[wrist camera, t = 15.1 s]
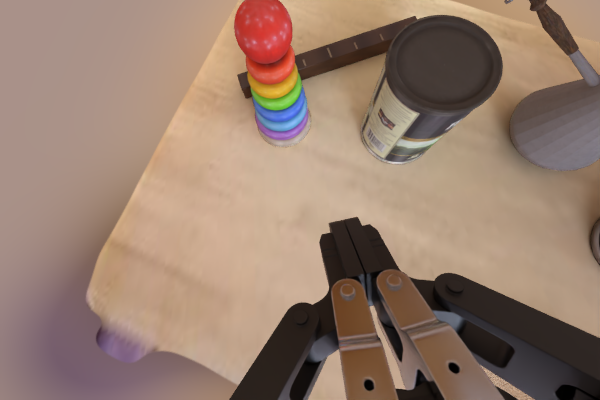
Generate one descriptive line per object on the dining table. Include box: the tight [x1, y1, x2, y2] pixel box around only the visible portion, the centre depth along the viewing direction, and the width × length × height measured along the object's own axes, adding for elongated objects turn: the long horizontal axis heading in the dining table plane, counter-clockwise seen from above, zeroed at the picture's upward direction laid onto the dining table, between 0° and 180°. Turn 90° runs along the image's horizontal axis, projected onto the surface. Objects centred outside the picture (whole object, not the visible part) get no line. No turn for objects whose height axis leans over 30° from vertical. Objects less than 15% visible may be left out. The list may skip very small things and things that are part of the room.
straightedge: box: [237, 16, 417, 98], centre depth 38 cm, size 28×2×3 cm, turn 108°
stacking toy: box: [234, 0, 311, 147], centre depth 29 cm, size 8×8×19 cm
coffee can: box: [361, 15, 503, 164], centre depth 30 cm, size 10×10×14 cm
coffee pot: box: [505, 0, 600, 171], centre depth 29 cm, size 21×12×15 cm, turn 54°
